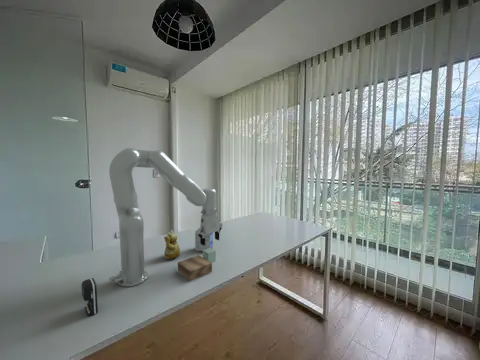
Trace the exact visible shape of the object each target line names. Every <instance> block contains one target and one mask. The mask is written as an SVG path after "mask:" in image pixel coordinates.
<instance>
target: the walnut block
mask: <svg viewBox="0 0 480 360" xmlns="http://www.w3.org/2000/svg"><path fill="white" fill-rule="evenodd" d="M212 271H213V262H212V263H211V262H209V261H208V260H206V259H204V258H203V256H200V255H195V256H192V257H188V258H187V259H186V258H185V259H183V260H180V261H178V262H177V272H178V273H179V274H180V275H182V276H183V277H184V278H186V279H187V280H188V281H190V282H192V281H195V280H197V279H199V278H201V277H204V276H206V275H208V274H211V273H212Z"/></svg>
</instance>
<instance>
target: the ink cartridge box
mask: <svg viewBox="0 0 480 360" xmlns="http://www.w3.org/2000/svg"><path fill="white" fill-rule="evenodd" d="M197 230H198V229H196V230H195V231H194V232H195V233H194V234H195V235H194V245H195V246H194V250H195V251H198V252H203V250H205V249H208V248H211V249H213V246H214V245H213V243H214V239H213V238H214V233H211V234H206V235H205V237H204V238H205V246H204V245H201V243H200V237H199V236H198V235H197V233H196V231H197ZM200 234H201V231H200ZM202 236H203V235H202ZM213 250H214V249H213Z"/></svg>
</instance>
